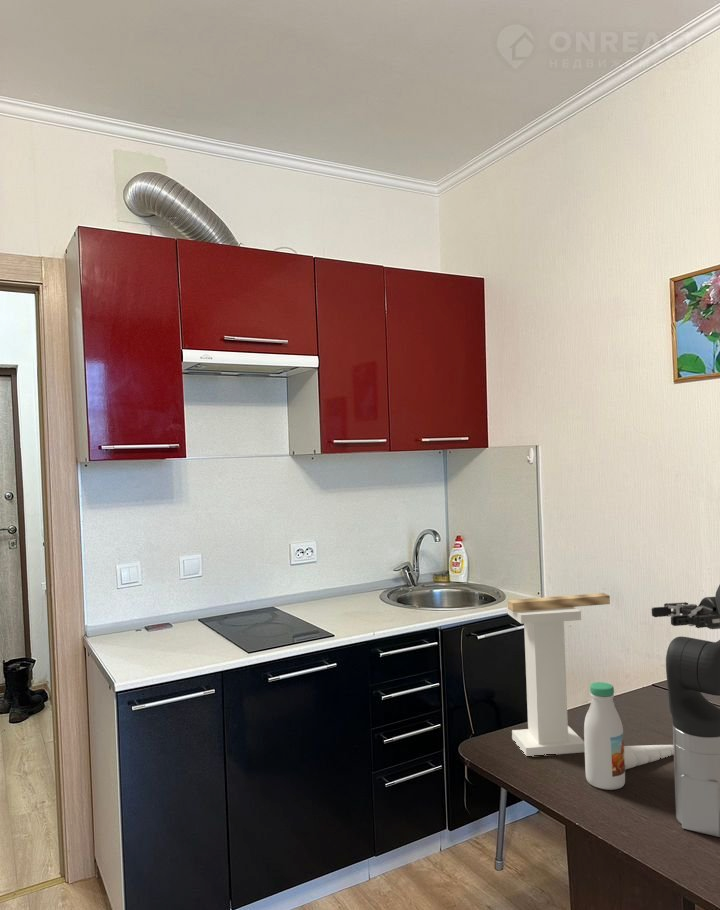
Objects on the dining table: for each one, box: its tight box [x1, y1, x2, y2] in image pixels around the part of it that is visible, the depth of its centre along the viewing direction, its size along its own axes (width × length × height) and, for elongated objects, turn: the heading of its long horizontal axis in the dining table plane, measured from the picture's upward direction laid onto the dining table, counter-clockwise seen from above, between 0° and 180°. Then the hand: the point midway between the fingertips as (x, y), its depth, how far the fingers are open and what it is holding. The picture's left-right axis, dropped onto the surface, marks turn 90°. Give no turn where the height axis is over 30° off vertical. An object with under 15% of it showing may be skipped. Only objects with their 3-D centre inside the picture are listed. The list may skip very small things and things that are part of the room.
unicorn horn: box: [624, 744, 674, 771], centre depth 151 cm, size 5×24×5 cm, turn 109°
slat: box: [507, 592, 611, 612], centre depth 161 cm, size 24×3×2 cm, turn 99°
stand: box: [506, 604, 585, 757], centre depth 160 cm, size 14×10×32 cm
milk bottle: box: [583, 681, 626, 791], centre depth 142 cm, size 8×8×20 cm
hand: (661, 616), depth 163 cm, fingers open, 8 cm apart
